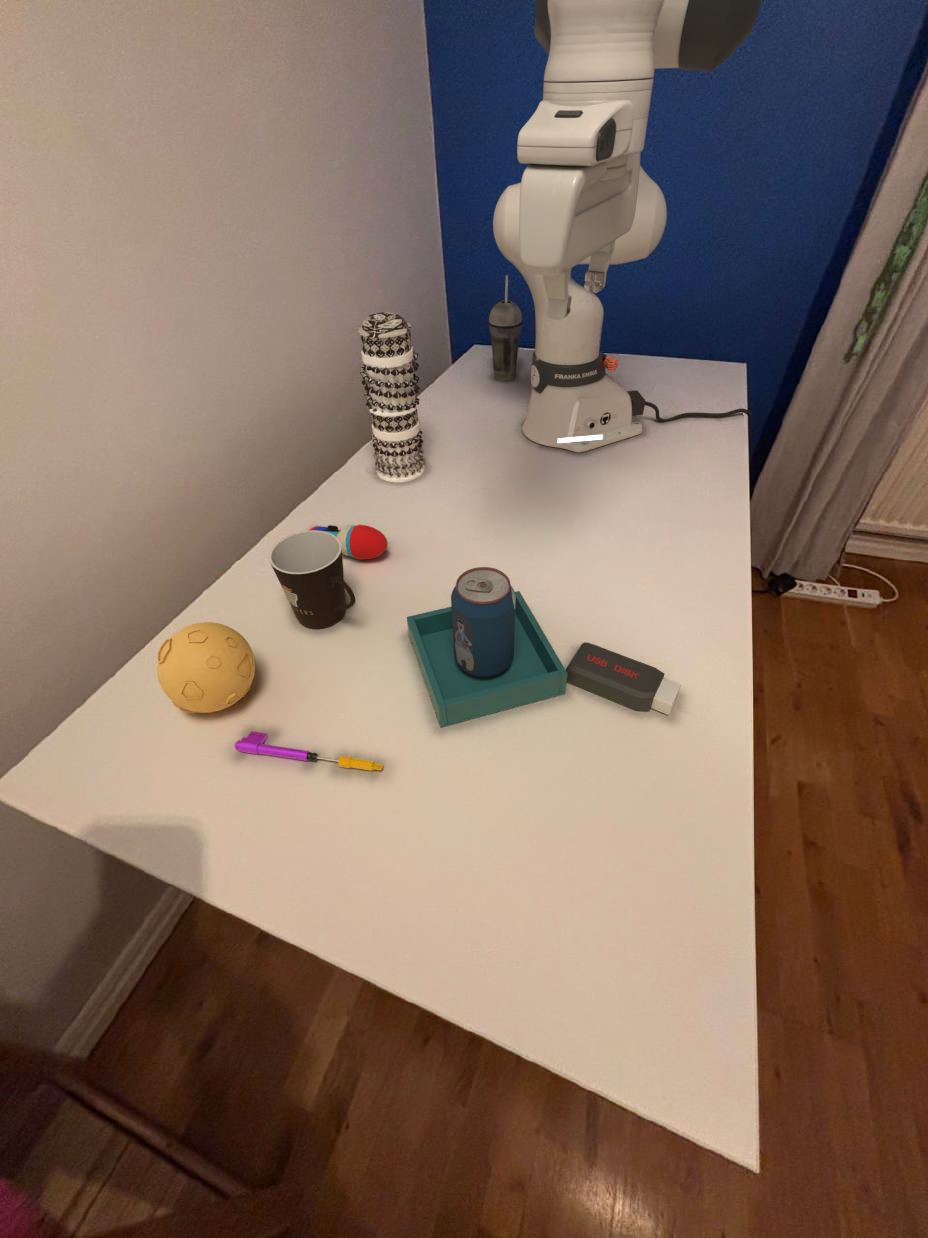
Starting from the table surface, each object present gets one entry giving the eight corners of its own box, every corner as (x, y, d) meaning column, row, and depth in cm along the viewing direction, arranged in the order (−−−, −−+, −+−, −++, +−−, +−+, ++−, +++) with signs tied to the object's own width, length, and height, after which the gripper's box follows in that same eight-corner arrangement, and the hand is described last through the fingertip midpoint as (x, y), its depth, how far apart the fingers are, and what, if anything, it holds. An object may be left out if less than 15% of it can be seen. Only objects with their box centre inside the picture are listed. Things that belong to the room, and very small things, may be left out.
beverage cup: (486, 383, 131) (485, 281, 117) (490, 370, 136) (490, 271, 122) (519, 384, 130) (522, 282, 116) (522, 371, 135) (526, 272, 121)
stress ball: (166, 688, 69) (130, 627, 63) (247, 652, 73) (222, 590, 67) (191, 747, 63) (155, 686, 57) (278, 703, 67) (254, 641, 60)
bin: (518, 610, 77) (519, 590, 75) (565, 694, 67) (567, 673, 65) (409, 636, 74) (406, 616, 72) (440, 727, 64) (438, 707, 62)
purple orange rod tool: (233, 752, 62) (380, 775, 60) (231, 744, 62) (380, 767, 59) (246, 736, 65) (388, 757, 62) (244, 727, 64) (387, 749, 62)
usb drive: (580, 652, 72) (583, 635, 70) (679, 690, 67) (685, 674, 65) (562, 680, 69) (564, 664, 67) (665, 723, 64) (670, 707, 62)
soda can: (517, 644, 72) (520, 566, 64) (508, 687, 67) (511, 609, 59) (461, 637, 73) (457, 560, 65) (448, 679, 69) (443, 601, 60)
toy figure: (292, 563, 88) (376, 572, 82) (281, 533, 86) (368, 540, 79) (321, 538, 94) (403, 545, 88) (312, 510, 91) (395, 515, 85)
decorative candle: (436, 473, 103) (426, 318, 86) (389, 489, 100) (368, 331, 83) (412, 452, 109) (397, 303, 92) (366, 466, 106) (342, 315, 89)
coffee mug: (282, 601, 80) (263, 541, 73) (345, 584, 82) (331, 523, 75) (300, 659, 72) (281, 598, 65) (369, 638, 74) (357, 576, 68)
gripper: (601, 114, 58) (585, 274, 68) (507, 138, 46) (503, 329, 55) (665, 115, 56) (639, 280, 65) (584, 139, 43) (567, 339, 53)
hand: (577, 303), depth 60 cm, fingers open, 8 cm apart
